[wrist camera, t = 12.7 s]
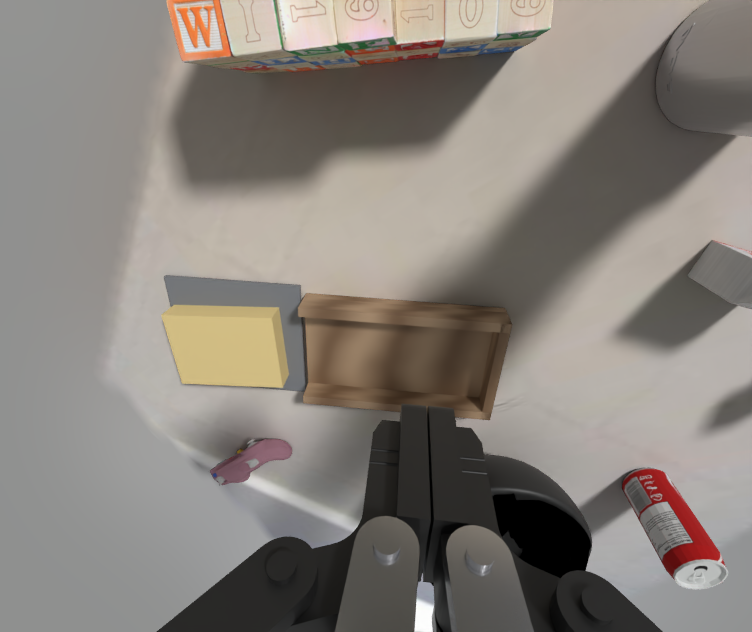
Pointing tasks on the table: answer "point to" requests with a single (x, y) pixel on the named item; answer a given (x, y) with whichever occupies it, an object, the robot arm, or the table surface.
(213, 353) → the cover plate
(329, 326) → the walnut box
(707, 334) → the table surface
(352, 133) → the table surface
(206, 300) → the charcoal mat
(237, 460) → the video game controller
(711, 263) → the grey gabled house block
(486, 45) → the stack of blocks
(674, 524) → the soda can
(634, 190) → the table surface
